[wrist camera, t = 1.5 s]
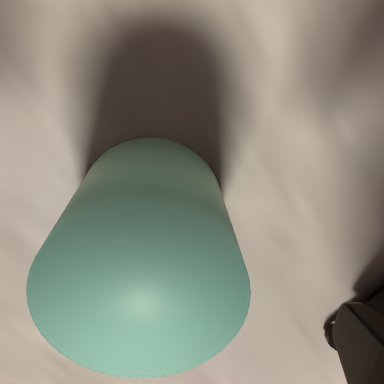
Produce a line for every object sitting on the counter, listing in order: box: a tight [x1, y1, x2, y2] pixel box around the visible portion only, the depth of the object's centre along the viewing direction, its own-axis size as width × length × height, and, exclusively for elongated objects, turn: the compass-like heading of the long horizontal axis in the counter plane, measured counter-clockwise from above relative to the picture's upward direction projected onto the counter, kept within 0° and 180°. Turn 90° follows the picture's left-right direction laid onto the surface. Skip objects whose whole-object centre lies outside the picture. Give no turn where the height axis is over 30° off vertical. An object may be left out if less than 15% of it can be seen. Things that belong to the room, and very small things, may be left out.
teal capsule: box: [26, 137, 251, 378], centre depth 10 cm, size 5×5×5 cm
